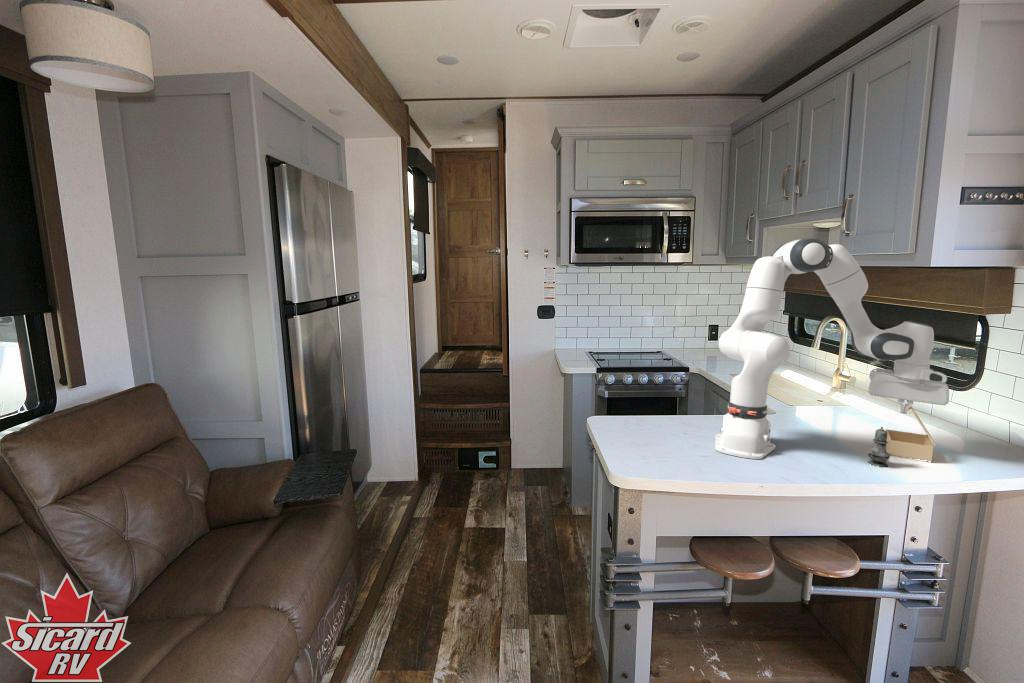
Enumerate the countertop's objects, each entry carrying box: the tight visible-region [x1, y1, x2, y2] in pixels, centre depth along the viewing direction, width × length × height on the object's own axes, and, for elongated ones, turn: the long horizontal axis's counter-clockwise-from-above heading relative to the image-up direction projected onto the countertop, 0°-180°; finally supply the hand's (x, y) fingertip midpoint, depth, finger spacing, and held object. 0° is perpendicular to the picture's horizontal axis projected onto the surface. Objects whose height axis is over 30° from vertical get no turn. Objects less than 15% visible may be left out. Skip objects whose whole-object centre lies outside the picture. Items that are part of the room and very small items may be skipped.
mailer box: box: [885, 428, 934, 461], centre depth 159 cm, size 14×11×5 cm
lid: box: [904, 403, 937, 447], centre depth 156 cm, size 14×12×1 cm
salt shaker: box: [866, 426, 892, 468], centre depth 148 cm, size 6×6×12 cm
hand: (903, 413), depth 157 cm, fingers closed, pressing on lid
